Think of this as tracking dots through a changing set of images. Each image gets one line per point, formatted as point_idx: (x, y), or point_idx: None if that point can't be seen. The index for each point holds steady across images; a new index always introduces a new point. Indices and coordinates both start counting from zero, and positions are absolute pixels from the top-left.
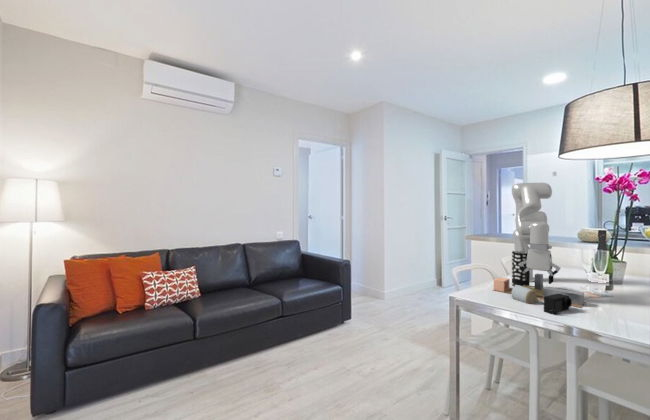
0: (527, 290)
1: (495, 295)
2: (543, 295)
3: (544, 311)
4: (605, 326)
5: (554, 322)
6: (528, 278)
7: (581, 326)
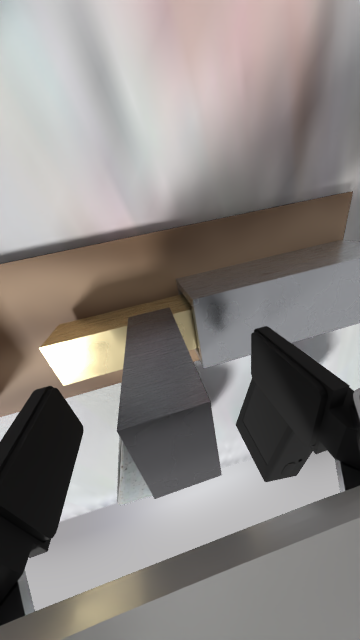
0: None
1: None
2: None
3: (237, 425)
4: (356, 389)
5: None
6: (69, 426)
7: None
